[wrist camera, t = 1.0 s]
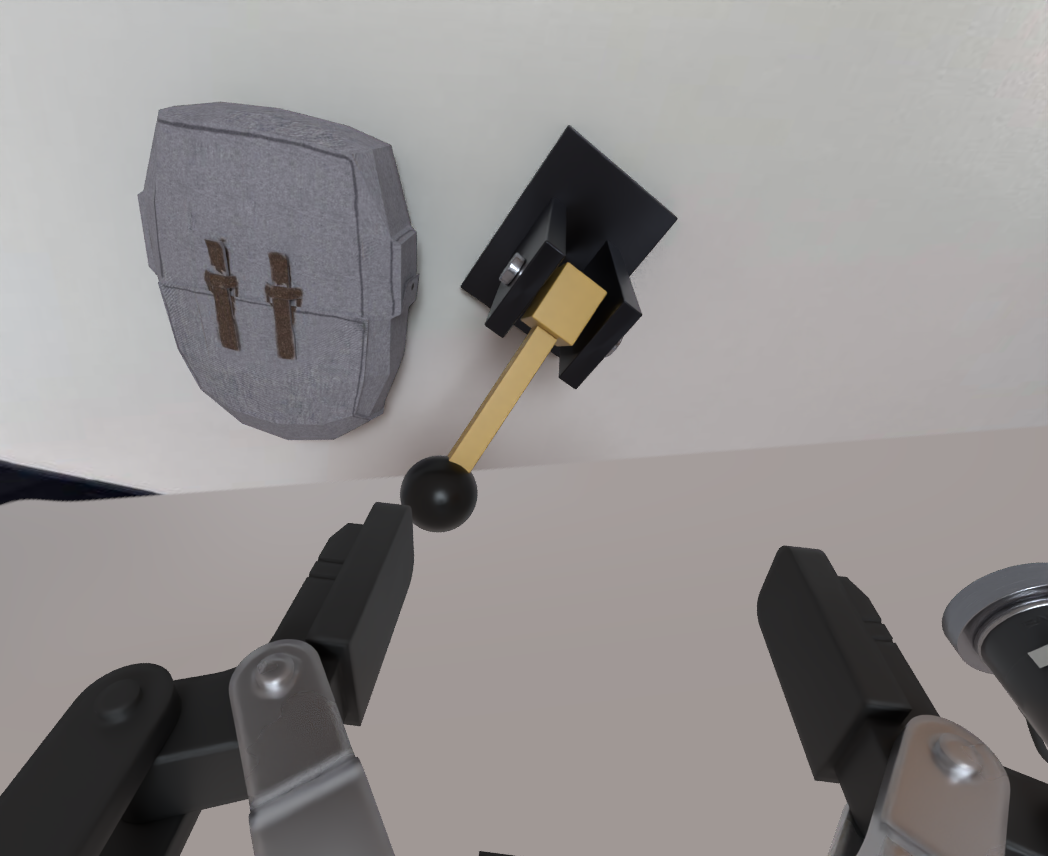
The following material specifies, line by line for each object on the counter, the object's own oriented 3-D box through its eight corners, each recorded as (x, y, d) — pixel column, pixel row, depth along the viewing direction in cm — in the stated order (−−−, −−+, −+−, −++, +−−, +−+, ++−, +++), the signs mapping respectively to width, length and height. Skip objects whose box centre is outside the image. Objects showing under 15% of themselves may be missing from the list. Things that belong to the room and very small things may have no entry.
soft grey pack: (175, 83, 30) (221, 393, 41) (54, 76, 23) (147, 455, 34) (440, 133, 31) (419, 428, 41) (401, 141, 24) (387, 496, 34)
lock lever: (447, 531, 26) (453, 557, 23) (386, 496, 25) (383, 518, 22) (596, 306, 26) (623, 299, 23) (539, 263, 25) (560, 249, 22)
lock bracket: (560, 351, 37) (557, 455, 26) (463, 281, 35) (414, 362, 24) (674, 215, 32) (729, 272, 21) (568, 124, 30) (568, 135, 19)
